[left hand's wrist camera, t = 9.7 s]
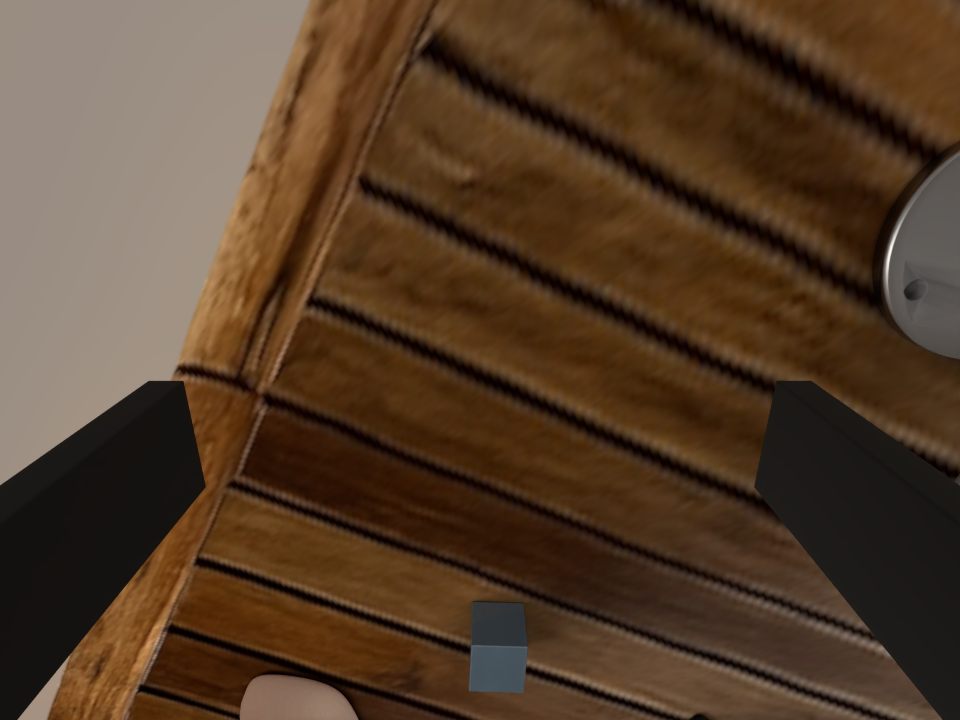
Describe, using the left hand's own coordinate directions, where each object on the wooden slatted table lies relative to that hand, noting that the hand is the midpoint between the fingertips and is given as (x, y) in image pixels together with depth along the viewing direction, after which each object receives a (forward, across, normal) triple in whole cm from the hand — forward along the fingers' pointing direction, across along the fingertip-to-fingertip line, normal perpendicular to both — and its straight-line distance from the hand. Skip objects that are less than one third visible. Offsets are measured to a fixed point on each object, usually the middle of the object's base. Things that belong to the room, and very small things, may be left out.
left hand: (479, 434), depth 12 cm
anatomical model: (+26, +17, +46) cm, 55 cm away
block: (+26, -1, +33) cm, 42 cm away
